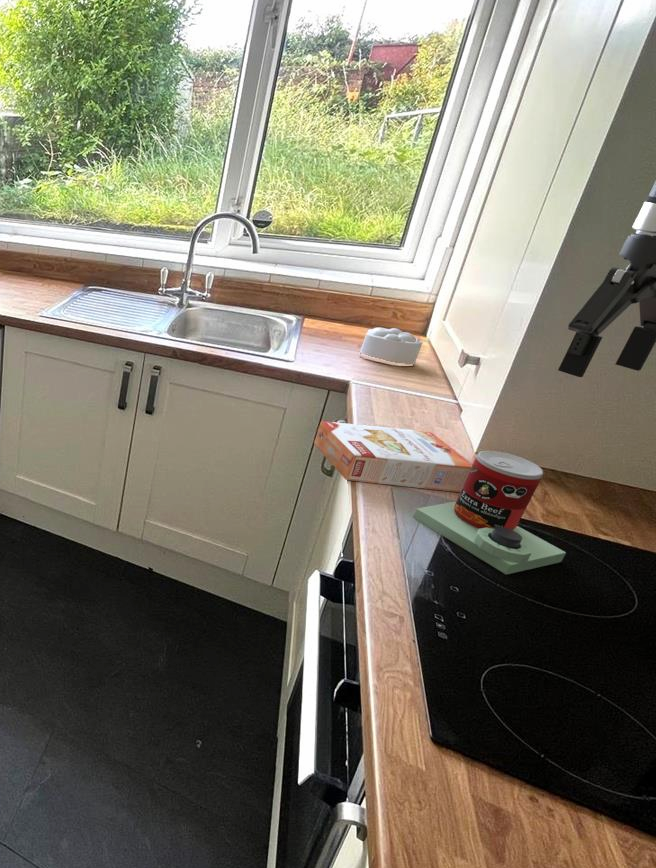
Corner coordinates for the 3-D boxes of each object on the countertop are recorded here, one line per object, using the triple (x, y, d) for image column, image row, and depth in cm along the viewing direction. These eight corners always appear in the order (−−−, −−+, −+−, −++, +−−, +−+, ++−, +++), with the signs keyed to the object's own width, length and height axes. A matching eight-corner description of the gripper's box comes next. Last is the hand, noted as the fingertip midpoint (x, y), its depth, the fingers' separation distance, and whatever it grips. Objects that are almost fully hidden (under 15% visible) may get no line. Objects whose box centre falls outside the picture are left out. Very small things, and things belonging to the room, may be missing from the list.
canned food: (441, 510, 98) (466, 454, 93) (471, 501, 100) (496, 446, 96) (495, 539, 91) (525, 479, 87) (525, 528, 94) (555, 471, 89)
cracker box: (481, 466, 103) (354, 454, 106) (468, 494, 106) (344, 482, 108) (431, 429, 116) (319, 419, 119) (420, 455, 119) (311, 445, 121)
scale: (561, 562, 89) (571, 544, 88) (503, 575, 86) (513, 557, 85) (463, 508, 102) (471, 491, 100) (410, 517, 99) (417, 500, 97)
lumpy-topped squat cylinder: (362, 349, 177) (371, 322, 174) (415, 360, 169) (425, 333, 166) (357, 358, 170) (366, 330, 167) (412, 370, 162) (423, 341, 159)
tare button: (523, 547, 87) (528, 538, 87) (507, 551, 87) (512, 541, 86) (499, 534, 90) (503, 525, 90) (484, 537, 89) (488, 528, 89)
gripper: (648, 241, 77) (575, 386, 85) (760, 238, 83) (682, 373, 92) (577, 231, 84) (516, 367, 92) (686, 229, 90) (620, 356, 98)
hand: (599, 370), depth 92 cm, fingers open, 13 cm apart
